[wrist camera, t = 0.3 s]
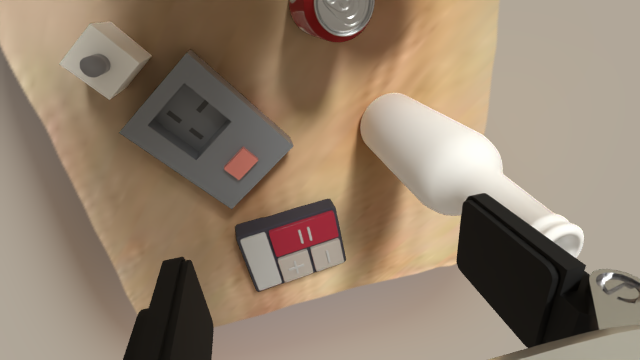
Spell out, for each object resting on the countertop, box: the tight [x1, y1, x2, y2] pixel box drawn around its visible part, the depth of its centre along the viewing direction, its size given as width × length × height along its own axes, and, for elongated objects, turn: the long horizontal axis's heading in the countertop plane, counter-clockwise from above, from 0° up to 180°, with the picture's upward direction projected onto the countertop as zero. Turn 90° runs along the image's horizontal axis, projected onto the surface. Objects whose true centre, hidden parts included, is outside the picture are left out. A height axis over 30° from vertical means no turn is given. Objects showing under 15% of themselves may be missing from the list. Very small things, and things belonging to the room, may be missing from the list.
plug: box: [59, 21, 152, 100], centre depth 35 cm, size 5×5×8 cm
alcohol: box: [360, 93, 584, 258], centre depth 36 cm, size 9×9×30 cm
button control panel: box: [235, 199, 346, 292], centre depth 53 cm, size 11×4×15 cm
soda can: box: [289, 0, 375, 42], centre depth 35 cm, size 7×7×12 cm
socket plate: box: [119, 49, 293, 209], centre depth 42 cm, size 16×12×4 cm
